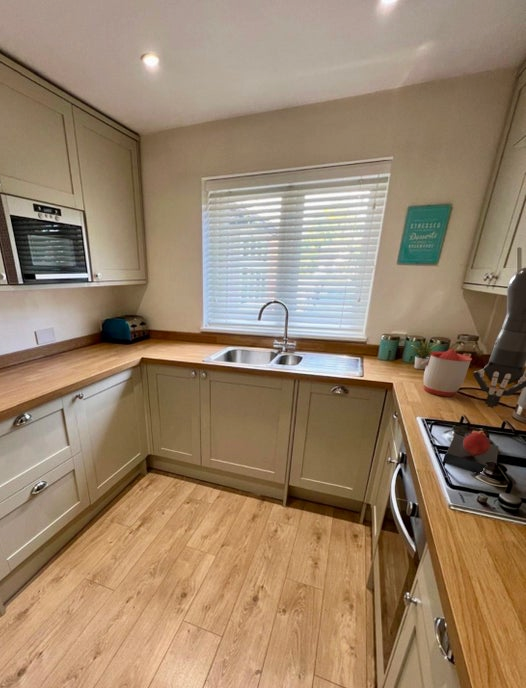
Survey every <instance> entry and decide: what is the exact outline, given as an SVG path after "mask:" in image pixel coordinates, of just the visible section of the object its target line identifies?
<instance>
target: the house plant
mask: <svg viewBox="0 0 526 688" xmlns="http://www.w3.org/2000/svg"><path fill="white" fill-rule="evenodd" d="M417 343H418V344H419V345H418V346H419V347H417V346H415V345H413V344H410V346H411V347H412V348H414V350H415V351H416V353H418V355H415V357H414V369H417V370H425V369H426V364H422V362H423V361H424V360H426V359H429V357H430V354H431V352H434V351H433V349H435V348H436V346H438V345H439V344H440V342H436V341H434V342H433V344H432V343H431V342H429V340H428V339H426V340H425V343H424V342H423V341H419V340H417ZM431 345H432V346H431Z"/></svg>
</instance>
